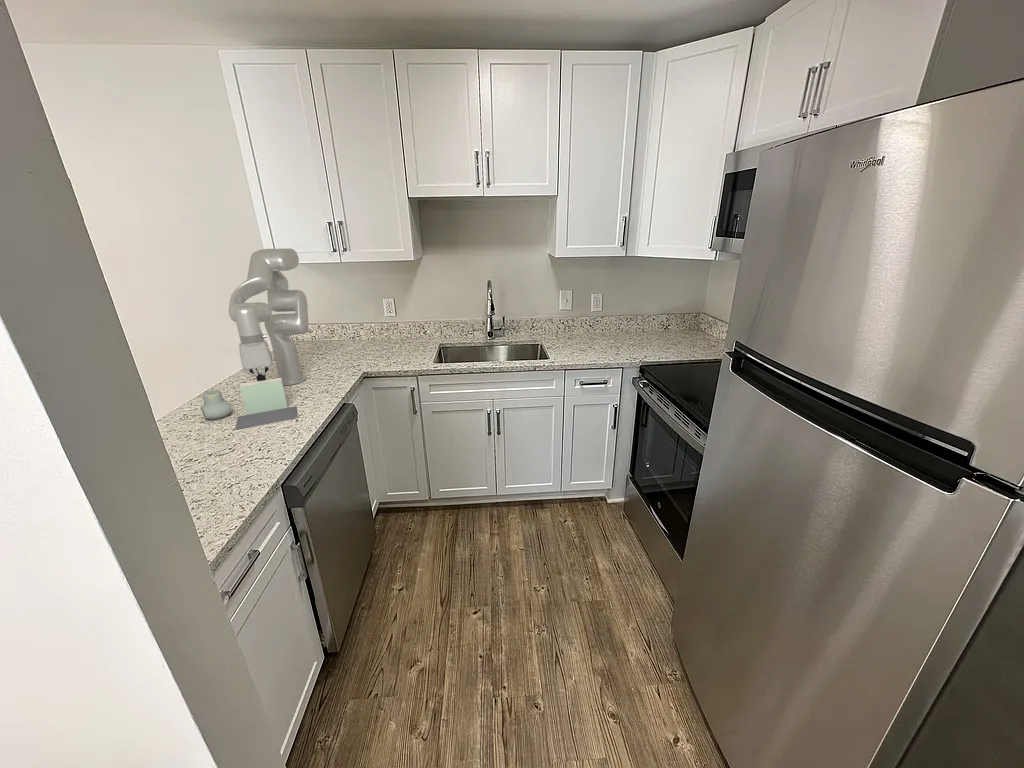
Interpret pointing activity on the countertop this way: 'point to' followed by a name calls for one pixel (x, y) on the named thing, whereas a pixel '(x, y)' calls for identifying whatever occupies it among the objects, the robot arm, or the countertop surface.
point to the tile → (263, 396)
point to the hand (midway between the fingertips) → (262, 384)
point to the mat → (265, 417)
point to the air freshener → (215, 405)
